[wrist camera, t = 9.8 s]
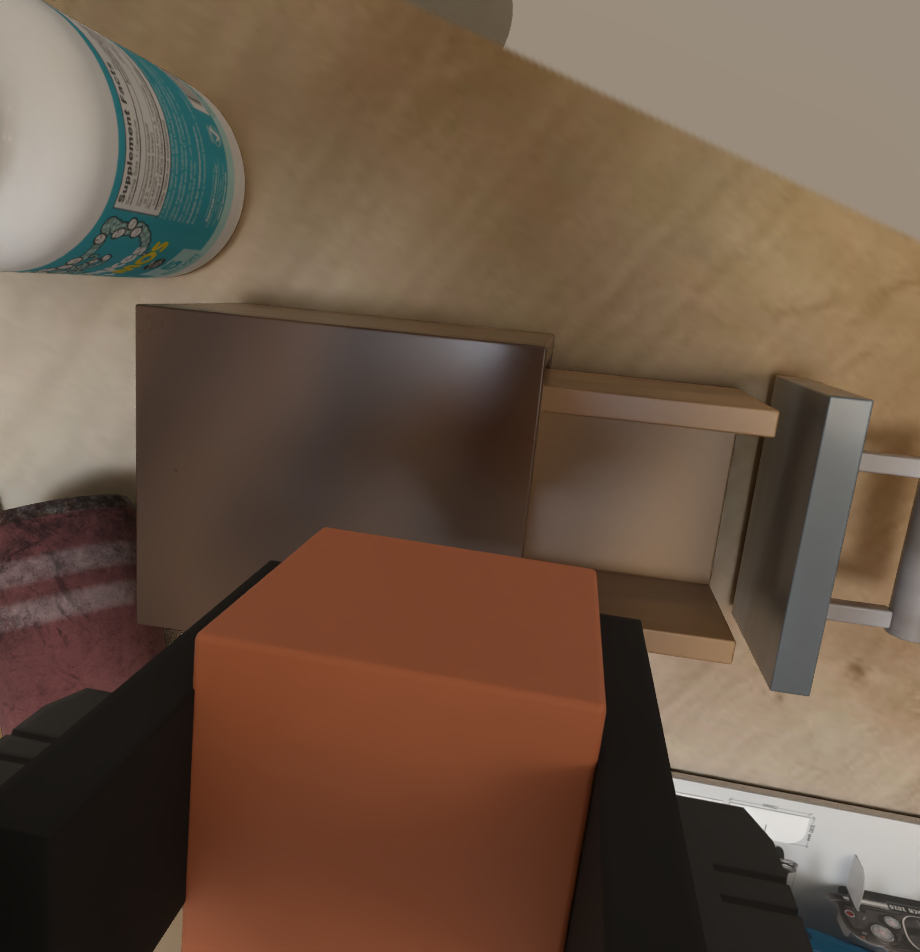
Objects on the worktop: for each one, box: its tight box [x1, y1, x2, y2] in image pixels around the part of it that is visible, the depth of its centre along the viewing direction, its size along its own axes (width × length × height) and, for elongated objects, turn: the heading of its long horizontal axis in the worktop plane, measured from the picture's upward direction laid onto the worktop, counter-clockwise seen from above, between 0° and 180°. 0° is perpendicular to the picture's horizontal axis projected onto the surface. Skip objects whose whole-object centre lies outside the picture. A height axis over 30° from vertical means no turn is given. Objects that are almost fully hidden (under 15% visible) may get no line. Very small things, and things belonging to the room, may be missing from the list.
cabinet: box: [136, 303, 555, 631], centre depth 28 cm, size 12×10×8 cm
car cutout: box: [671, 771, 920, 952], centre depth 31 cm, size 15×7×4 cm, turn 83°
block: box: [181, 527, 606, 952], centre depth 11 cm, size 4×4×4 cm
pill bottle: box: [0, 0, 245, 278], centre depth 24 cm, size 8×7×14 cm
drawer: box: [523, 368, 920, 696], centre depth 26 cm, size 16×9×6 cm, turn 85°
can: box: [0, 495, 167, 736], centre depth 30 cm, size 6×6×14 cm
